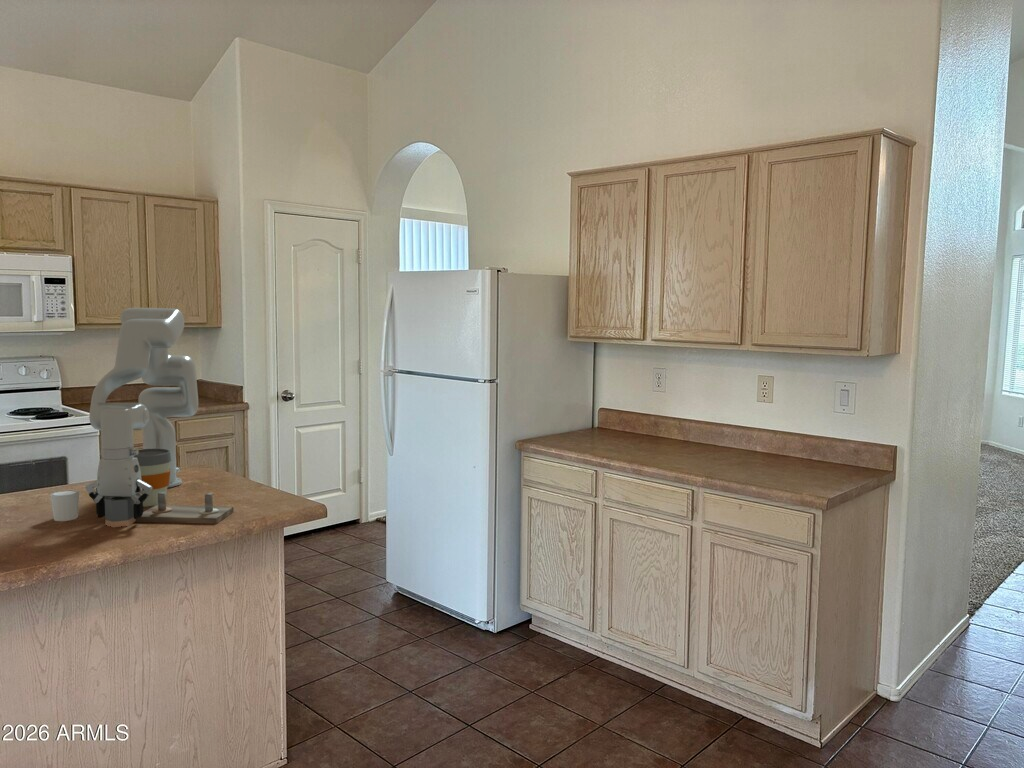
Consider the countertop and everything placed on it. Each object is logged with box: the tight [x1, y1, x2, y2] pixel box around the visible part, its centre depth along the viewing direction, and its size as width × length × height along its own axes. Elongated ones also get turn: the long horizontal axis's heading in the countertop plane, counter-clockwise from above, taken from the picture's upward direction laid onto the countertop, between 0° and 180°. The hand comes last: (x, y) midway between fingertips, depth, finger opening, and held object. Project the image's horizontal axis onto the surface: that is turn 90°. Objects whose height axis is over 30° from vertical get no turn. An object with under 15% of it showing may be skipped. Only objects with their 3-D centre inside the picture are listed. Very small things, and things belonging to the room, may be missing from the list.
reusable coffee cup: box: [134, 448, 171, 508], centre depth 225 cm, size 13×13×15 cm
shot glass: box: [49, 490, 80, 522], centre depth 207 cm, size 7×7×7 cm
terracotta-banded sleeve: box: [104, 497, 136, 528], centre depth 203 cm, size 7×6×7 cm
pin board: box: [134, 492, 234, 525], centre depth 211 cm, size 12×22×6 cm, turn 89°
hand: (120, 517), depth 203 cm, fingers open, 9 cm apart
